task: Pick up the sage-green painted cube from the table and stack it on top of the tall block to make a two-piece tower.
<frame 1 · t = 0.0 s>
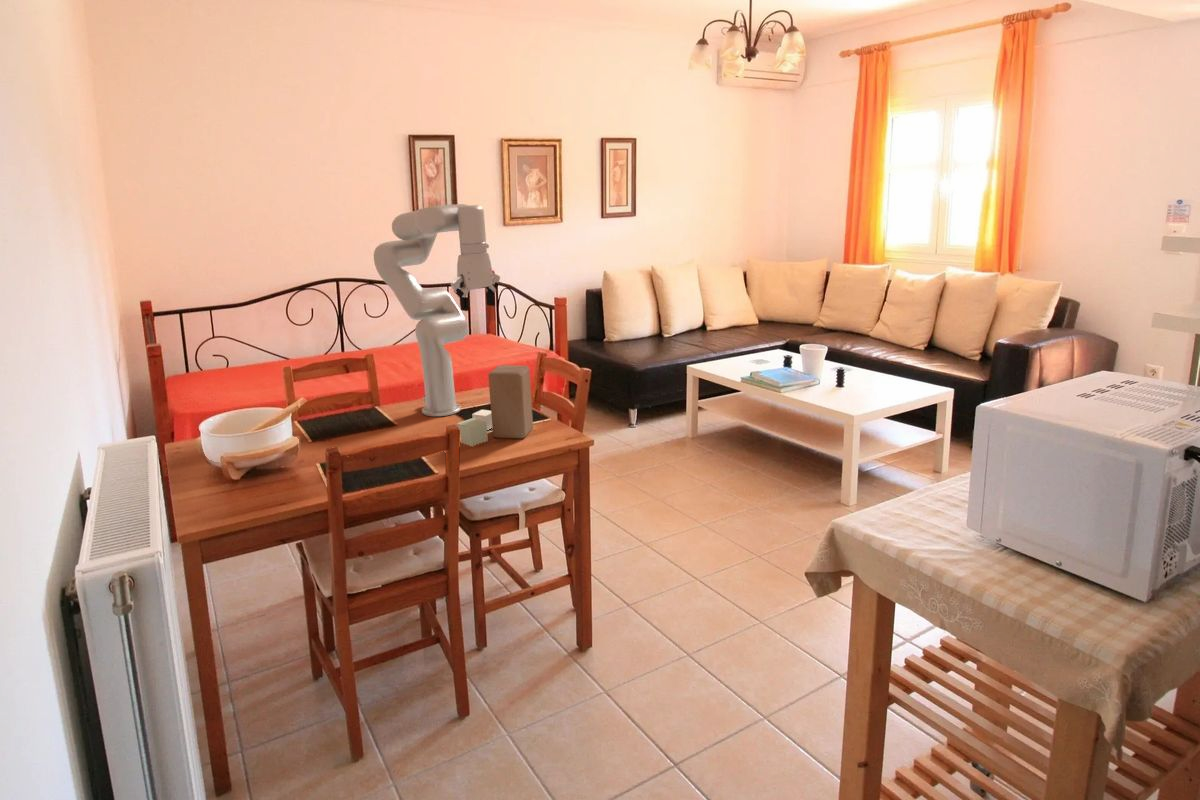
hand: (478, 307, 223), 37 cm above the table, tool pointing down, fingers open, 9 cm apart
cream cube: (484, 428, 232), on the table
block: (513, 434, 226), on the table
sage cube: (473, 441, 220), on the table
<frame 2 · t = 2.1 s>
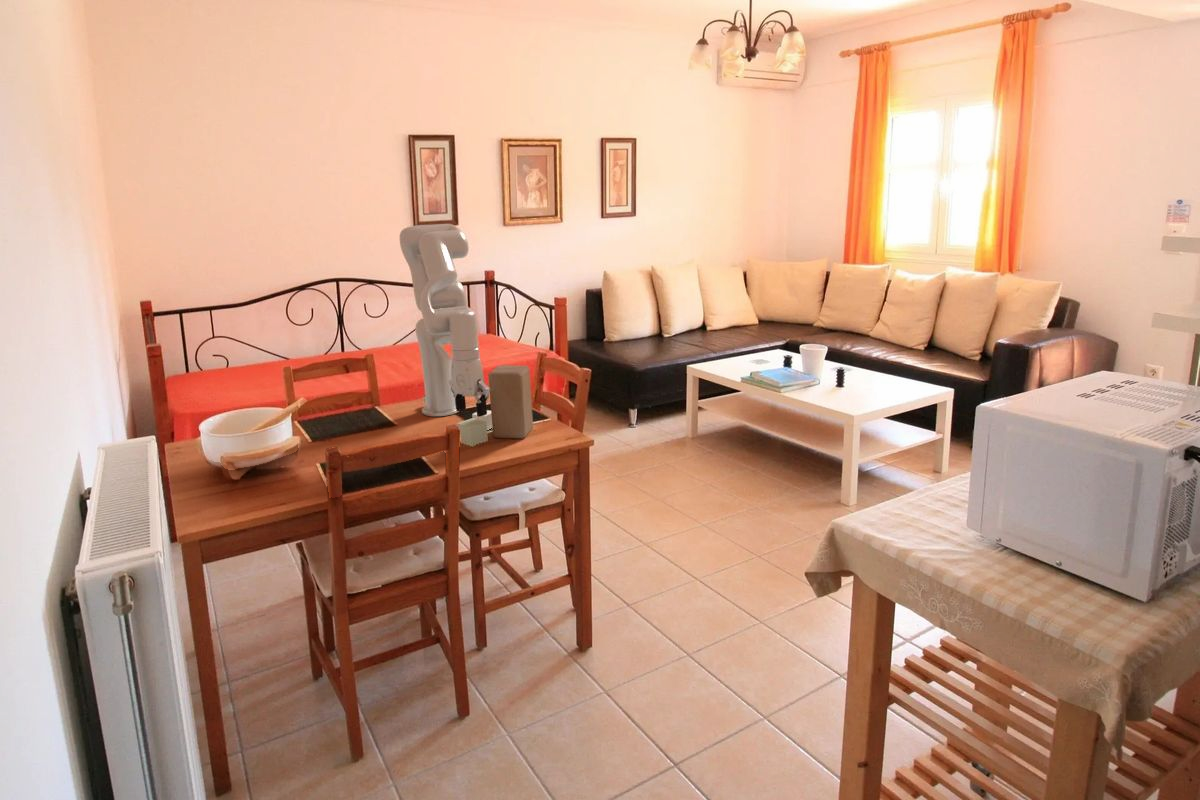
hand: (471, 412, 217), 9 cm above the table, tool pointing down, fingers open, 9 cm apart
nothing on the table moved.
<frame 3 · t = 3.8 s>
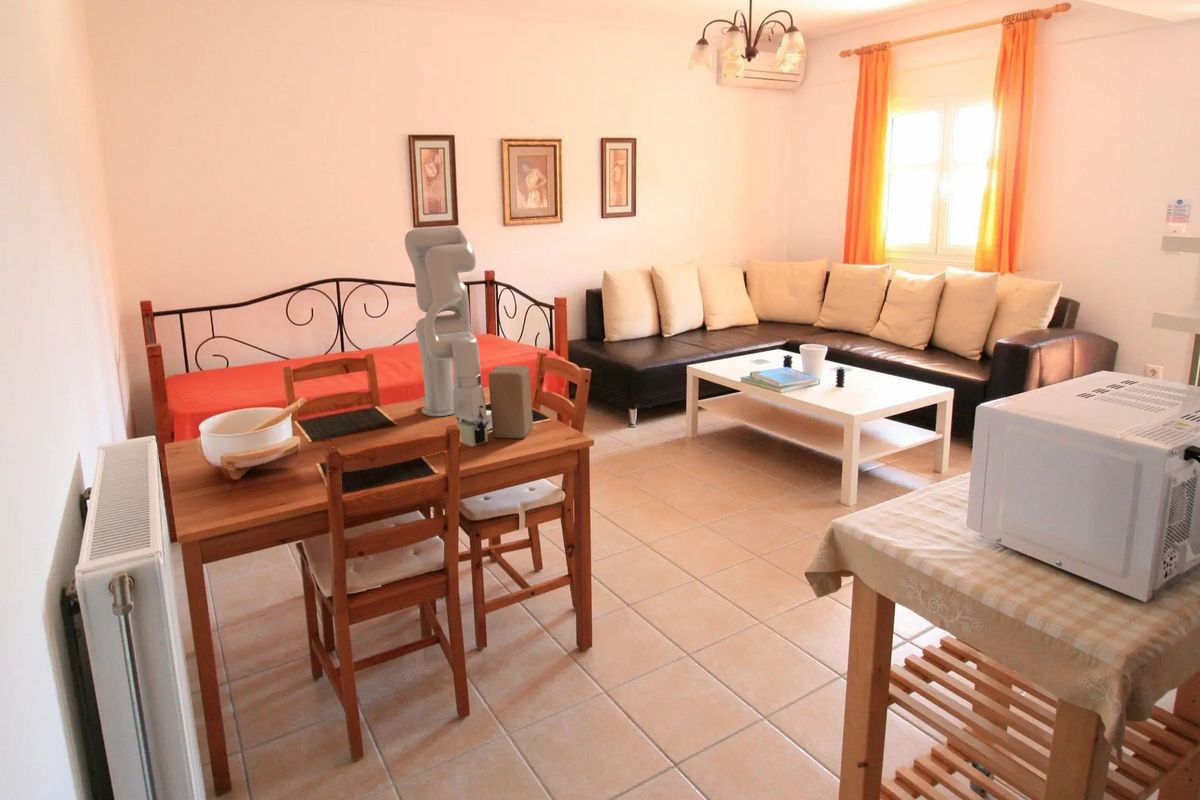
hand: (473, 439, 220), 1 cm above the table, tool pointing down, fingers closed on sage cube, 6 cm apart
sage cube: (473, 441, 220), on the table, touching gripper
everything else where it was.
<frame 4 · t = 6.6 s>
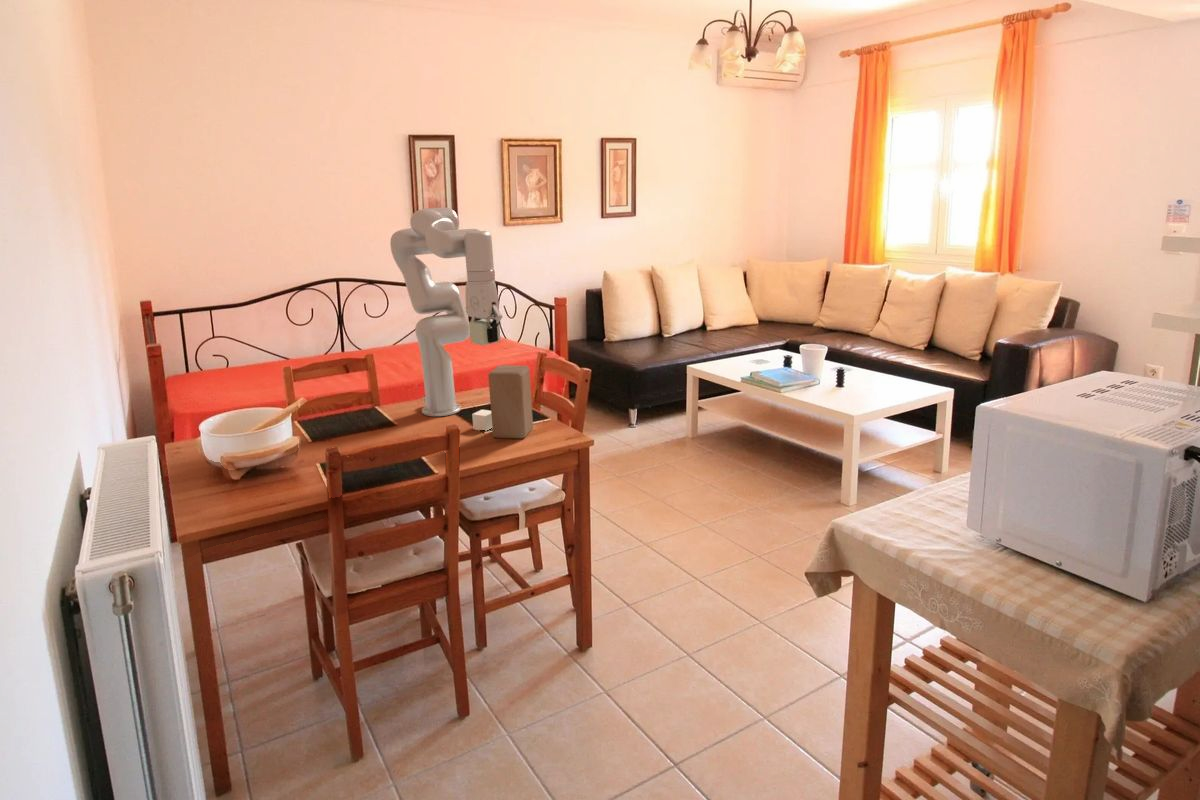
hand: (485, 339, 214), 30 cm above the table, tool pointing down, fingers closed on sage cube, 6 cm apart
sage cube: (485, 342, 215), point 29 cm above the table, touching gripper
everything else where it was.
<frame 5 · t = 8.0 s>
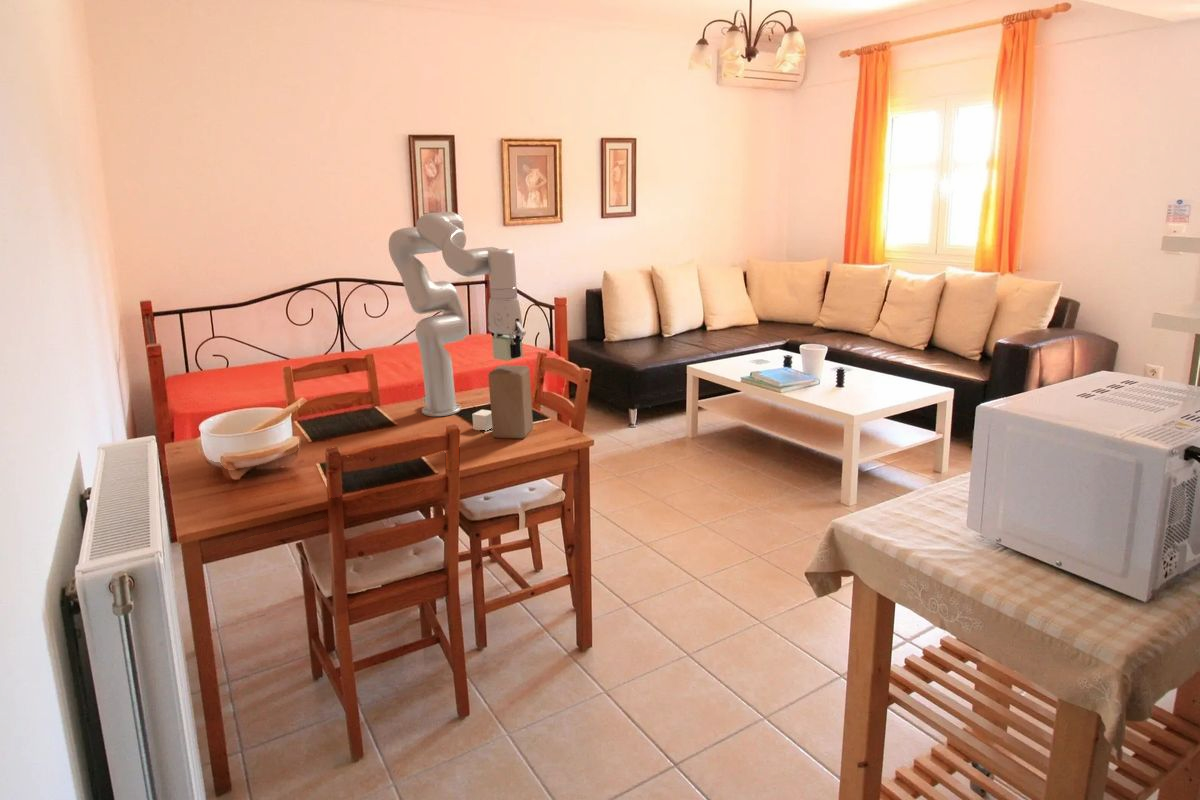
hand: (508, 355, 219), 24 cm above the table, tool pointing down, fingers closed on sage cube, 6 cm apart
sage cube: (508, 357, 219), point 23 cm above the table, touching gripper
everything else where it was.
when the fingers open (22 cm above the table, at t = 9.3 s): sage cube drops 1 cm, resting on block.
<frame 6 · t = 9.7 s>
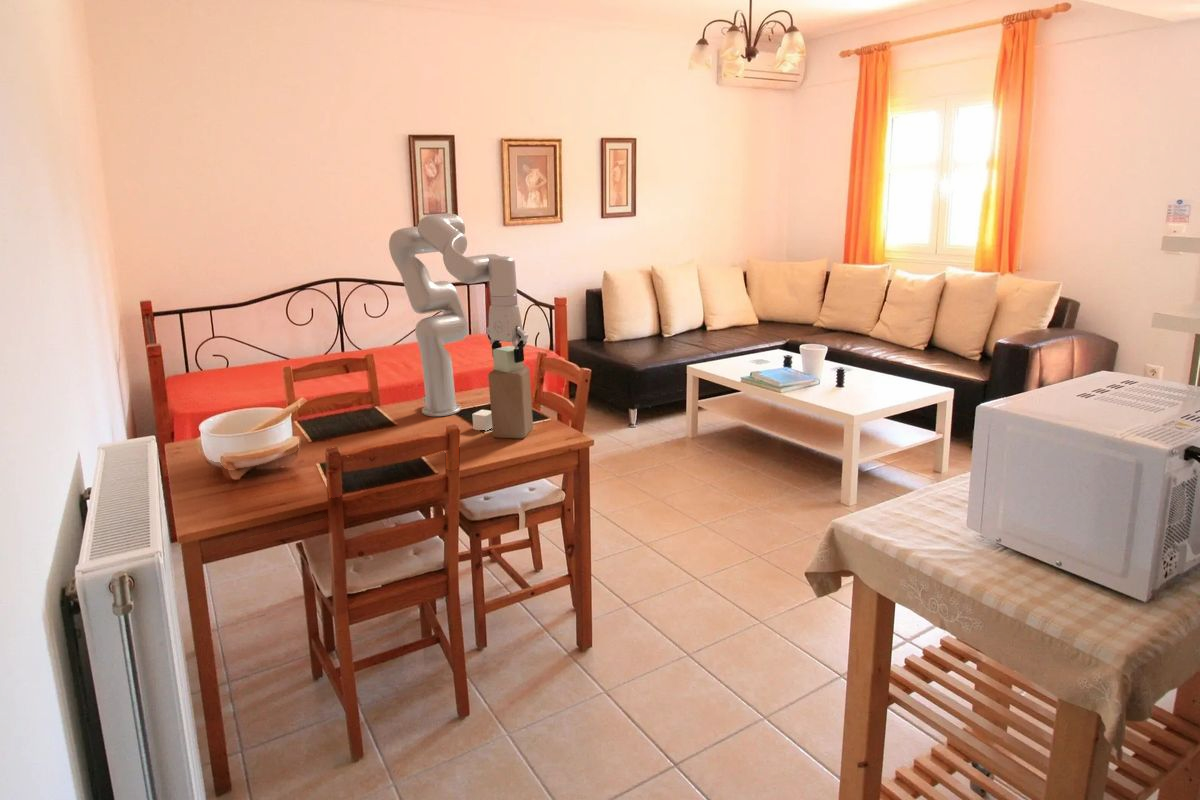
hand: (508, 359, 219), 23 cm above the table, tool pointing down, fingers open, 9 cm apart
block: (513, 434, 226), on the table, touching sage cube
sage cube: (508, 368, 220), point 20 cm above the table, touching block
everything else where it was.
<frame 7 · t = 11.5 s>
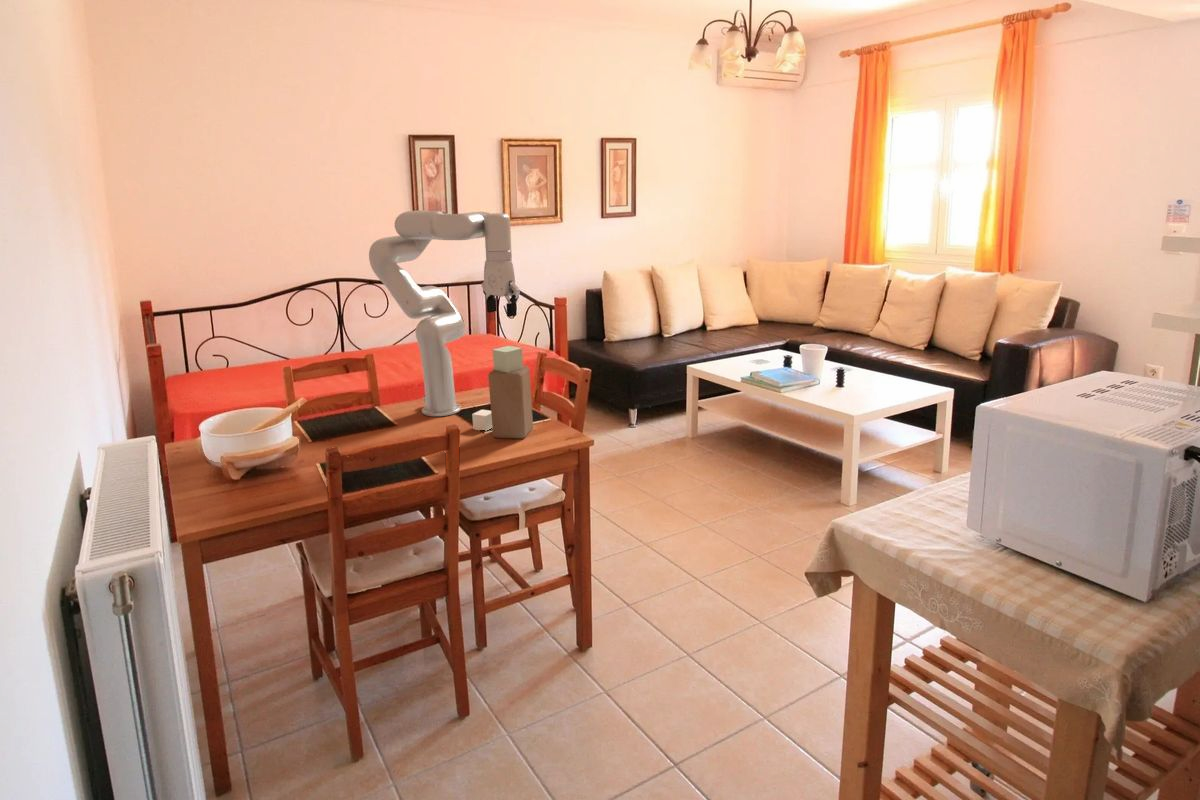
hand: (501, 314, 227), 34 cm above the table, tool pointing down, fingers open, 9 cm apart
nothing on the table moved.
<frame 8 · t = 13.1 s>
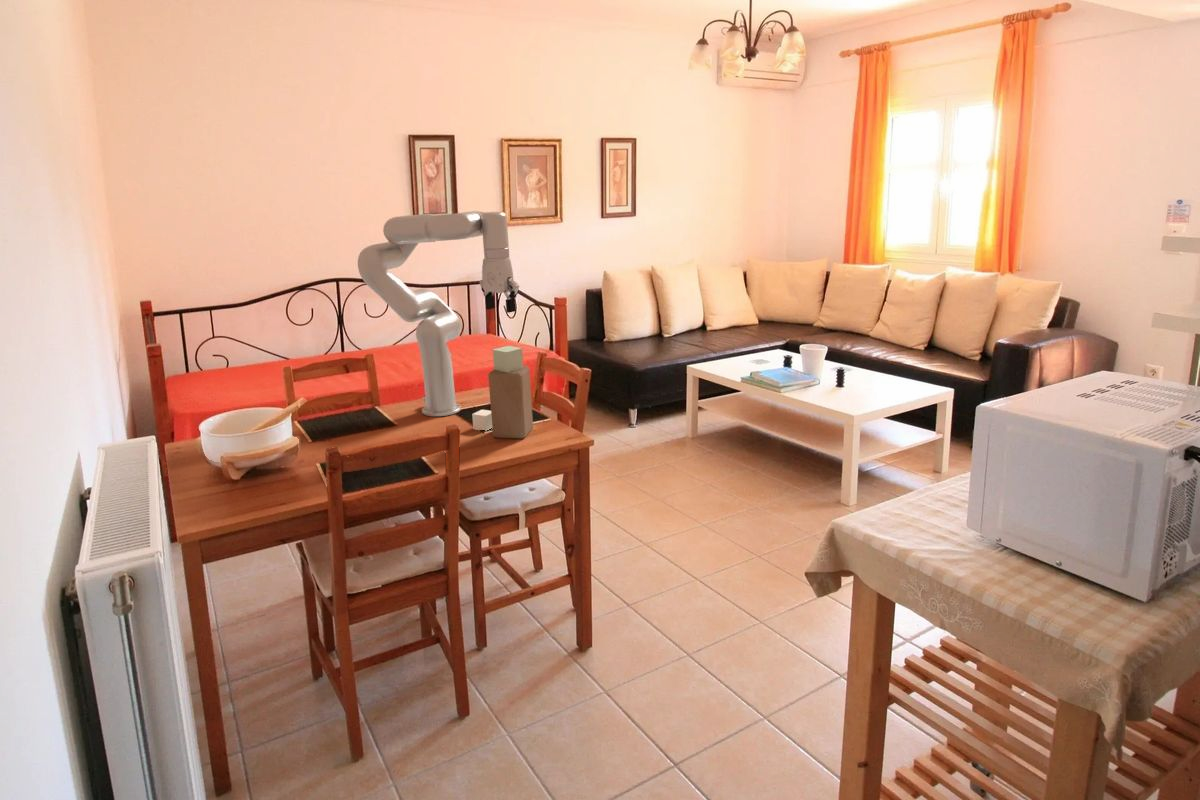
hand: (500, 310, 232), 34 cm above the table, tool pointing down, fingers open, 9 cm apart
nothing on the table moved.
at the end: sage cube inside the target area on the block (0.0 cm from its centre), point 20.2 cm above the block's base; sage cube tilted 0°; the gripper is holding nothing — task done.
